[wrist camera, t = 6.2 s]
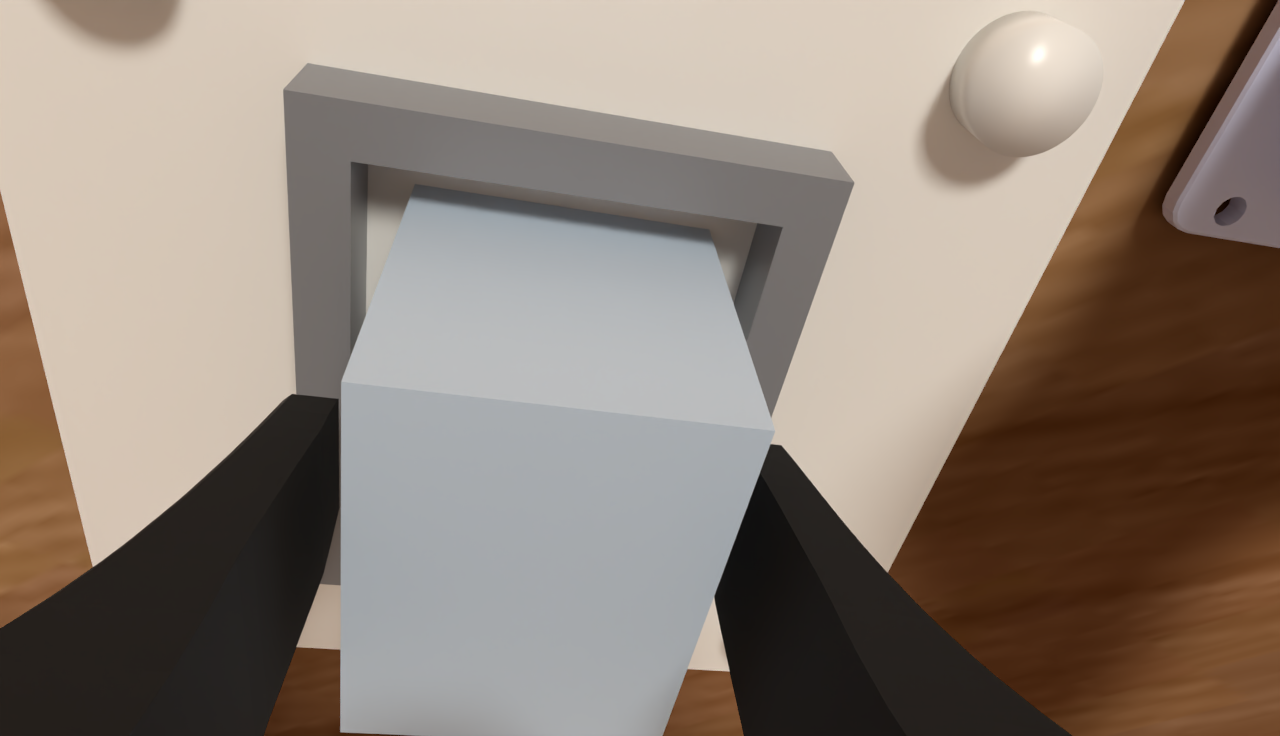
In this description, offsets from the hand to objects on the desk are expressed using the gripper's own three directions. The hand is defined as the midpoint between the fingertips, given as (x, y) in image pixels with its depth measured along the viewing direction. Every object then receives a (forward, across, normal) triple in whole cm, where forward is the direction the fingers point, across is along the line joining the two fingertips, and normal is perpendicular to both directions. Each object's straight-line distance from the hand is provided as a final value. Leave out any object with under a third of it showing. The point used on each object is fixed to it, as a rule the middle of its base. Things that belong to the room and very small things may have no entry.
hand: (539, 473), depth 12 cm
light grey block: (+3, 0, 0) cm, 3 cm away
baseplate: (+4, 0, 0) cm, 4 cm away
